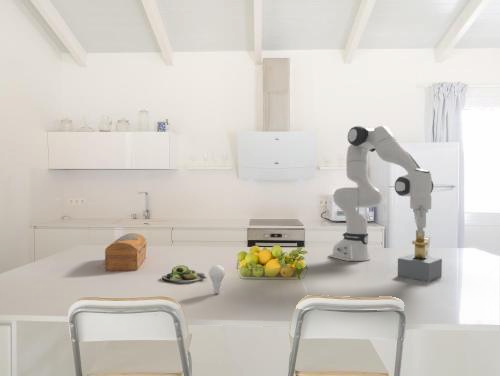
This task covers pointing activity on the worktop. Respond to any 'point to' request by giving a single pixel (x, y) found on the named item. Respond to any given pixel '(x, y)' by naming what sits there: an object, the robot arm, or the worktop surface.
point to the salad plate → (183, 275)
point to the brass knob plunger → (420, 246)
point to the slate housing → (419, 268)
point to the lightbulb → (216, 277)
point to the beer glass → (427, 247)
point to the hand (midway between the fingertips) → (420, 235)
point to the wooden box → (126, 253)
